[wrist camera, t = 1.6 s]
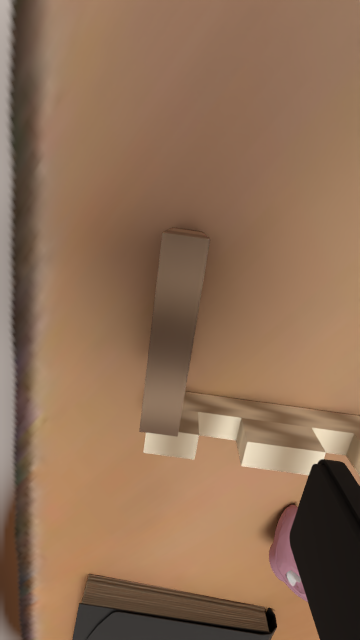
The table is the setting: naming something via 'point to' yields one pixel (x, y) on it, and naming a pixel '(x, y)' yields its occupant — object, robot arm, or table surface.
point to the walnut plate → (173, 328)
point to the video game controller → (286, 554)
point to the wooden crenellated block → (262, 433)
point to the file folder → (165, 614)
